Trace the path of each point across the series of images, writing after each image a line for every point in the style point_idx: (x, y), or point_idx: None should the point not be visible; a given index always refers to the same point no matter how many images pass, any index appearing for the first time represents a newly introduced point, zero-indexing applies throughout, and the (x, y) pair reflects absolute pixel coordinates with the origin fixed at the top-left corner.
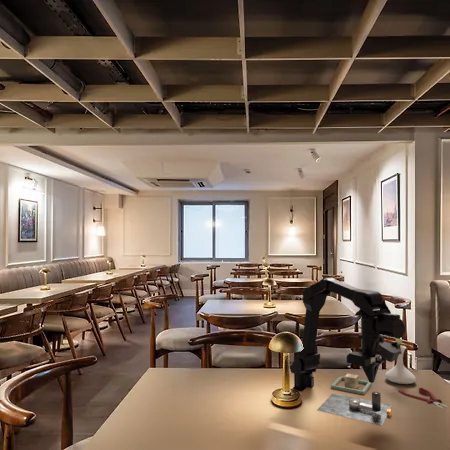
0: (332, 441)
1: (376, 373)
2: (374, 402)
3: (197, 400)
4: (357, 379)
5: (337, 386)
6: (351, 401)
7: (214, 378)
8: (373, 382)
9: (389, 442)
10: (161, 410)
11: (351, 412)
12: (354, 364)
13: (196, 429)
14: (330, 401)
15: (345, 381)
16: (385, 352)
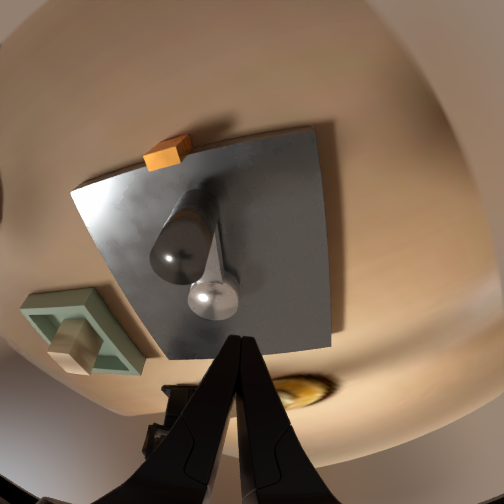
0: (471, 236)
1: (193, 401)
2: (213, 233)
3: (376, 431)
4: (57, 344)
5: (129, 364)
6: (227, 311)
7: None
8: (236, 335)
9: (398, 73)
10: (423, 424)
11: (273, 276)
12: (502, 494)
13: (467, 386)
14: None
15: (93, 361)
16: None
